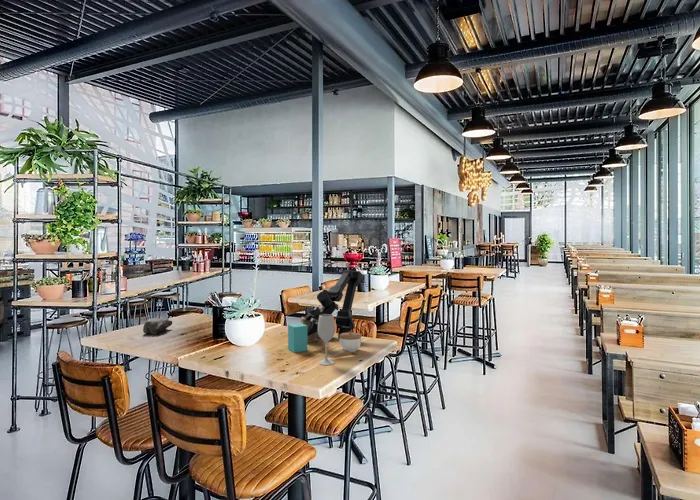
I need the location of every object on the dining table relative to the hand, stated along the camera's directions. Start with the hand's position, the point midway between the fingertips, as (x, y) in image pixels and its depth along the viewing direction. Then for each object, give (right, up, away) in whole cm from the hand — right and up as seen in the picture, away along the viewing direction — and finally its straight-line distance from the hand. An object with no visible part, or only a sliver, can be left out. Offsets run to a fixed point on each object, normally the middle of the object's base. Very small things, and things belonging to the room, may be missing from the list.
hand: (306, 335), depth 212 cm
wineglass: (+11, -8, -21) cm, 25 cm away
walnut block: (0, -6, +17) cm, 18 cm away
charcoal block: (+5, -6, +26) cm, 27 cm away
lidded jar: (+21, -7, 0) cm, 23 cm away
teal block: (-4, -6, -2) cm, 8 cm away
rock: (-90, -6, +41) cm, 99 cm away
